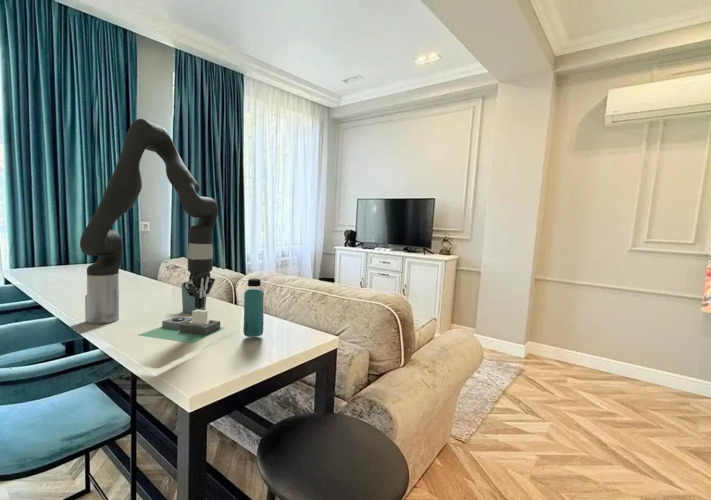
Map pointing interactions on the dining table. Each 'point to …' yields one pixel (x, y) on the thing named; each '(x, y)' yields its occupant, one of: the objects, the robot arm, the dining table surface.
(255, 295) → the beverage bottle
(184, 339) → the board
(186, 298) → the grey-green tapered cup
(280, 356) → the dining table surface
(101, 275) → the robot arm
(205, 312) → the plug
